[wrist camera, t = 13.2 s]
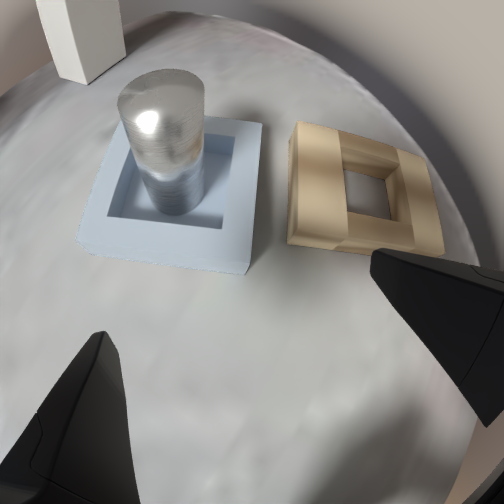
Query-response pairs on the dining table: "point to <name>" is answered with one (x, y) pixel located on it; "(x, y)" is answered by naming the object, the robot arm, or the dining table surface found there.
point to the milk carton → (82, 36)
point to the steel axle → (167, 136)
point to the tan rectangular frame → (334, 198)
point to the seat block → (183, 226)
